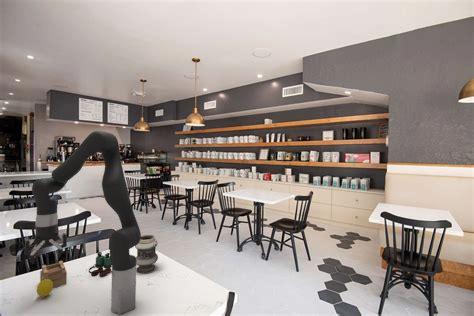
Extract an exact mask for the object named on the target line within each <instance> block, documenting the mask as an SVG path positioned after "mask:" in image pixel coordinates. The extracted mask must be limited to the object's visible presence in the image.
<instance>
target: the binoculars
mask: <svg viewBox="0 0 474 316" xmlns="http://www.w3.org/2000/svg"><path fill="white" fill-rule="evenodd" d="M102 254H103V253H102V252H101V251H97V256H96V257H95V264H93V266H90V267H89V268H88V273H89V274H91V275H90V276H91V277H97V276H99V277H100V278H103V277H105V276H107V274H108V273H110V272H112V264H111V261H110V252H106V253H105V254H104V255H102ZM93 269H94V270H93ZM91 270H93V271H91Z"/></svg>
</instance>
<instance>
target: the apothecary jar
mask: <svg viewBox="0 0 474 316" xmlns="http://www.w3.org/2000/svg"><path fill="white" fill-rule="evenodd" d="M158 243H159V242H158V240H157V239H156V236H155V235H154V234H143V235H141V240H140V242H139V243H138V244H137V245H136V246H134V247H135V249H136V252H137V253H136V256H135V257H136V266H138V267H136V273H139V274H149V273H152V272H153V271H155V270H156V268H157V267H156V265H155V264H156V262H157V261H158V259H159V256H158V254H157V253H156V252H157V251H156V247H157V246H158Z"/></svg>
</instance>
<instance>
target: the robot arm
mask: <svg viewBox="0 0 474 316" xmlns="http://www.w3.org/2000/svg"><path fill="white" fill-rule="evenodd" d="M119 145H120V144H119V141H118V138H117V136H116V135H114V133H111V132H106V131H102V130H95V131H93V132H91V133H89V135H87V136H86V137H85V139H84V140H83V141H82V142H81V143H80V145H79V146H78V147H77V148H76V149H75V150H74V152H72V154H71V155H70V156H69V157H68V158H67V159H66V160H64V161H63V162H62V163H61V164H59V165H58V166H56V167H55V168H54V169H53V170H52V172H51V173H50V174H51V177H46V178H39V179H36V180H35V181H34V182H33V183H32V187H31V192H32V195H33V198H34V201H35V204H36V216H35V224H34V225H35V230H34V231H35V237H34V238H32V239H29V238H27V239H25V243H24V251H23V253H24V255H25V256H29V263H30V264H32V265H34V264H35V261H36V258H35V257H36V253H37V251H39V250H40V249H41V248H42V249H43V248H46V247H48V248H49V247H52V246H54V247H56V249H57V251H56V257H57V259H60V257H62V255H63V254H62V252H63V251H62V250H63V249H64V248H66V247H67V246H68V244H67V243H68V239H67V234H66V232H62V233H60V234H58V233H59V231H58V230H59V229H58V228H59V227H58V223H59V222H58V220H59V216H58V200H56V199H55V198H51V197H50V195H51V194H56V193H58V192H60V191H61V190H62V189H63V188H64V187H65V186H66V184H67V183H68V182H69V181H70V180H71V179H72V178H74V177H75V176H76V175H77V174H78V173H79V172H81V170H82V168H83V167H84V164H85V162H86V161H87V160H88V159H89V158H90V157H92V156H94V155H96V154H97V153H98V154H102V158H103V161H104V172H103V175H102V180H101V188H102V193H103V196H104V199H105V202H106V203H107V205H108V206H109V207H110V208H111V209H112V210H113V211H114V212H115V214H117V216H118V218H119V220H120V225H121V228H120V229H117V230H115V231H113V232H112V233H111V235H110V238H109V253H110V255H109V256H110V261H111V264H112V267H111V291H110V294H111V295H110V296H111V298H110V301H111V302H110V310H111V312H112V313H113V314H118V315H119V316H121V315H122V314H125V313H127V312H129V311H132V310H134V309H136V301H137V300H136V297H137V296H136V295H137V294H136V293H137V291H136V289H137V286H136V285H137V264H136V256H135V255H132V254H130V249H132V248H134V247H135V246H136V245H137V244H138V243H139V242H140V240H141V236H142V234H141V229H140V226H139V223H138V221H137V218H136V216H135V213H134V209H133V205H132V202H131V198H130V193H129V189H128V185H127V181H126V177H125V174H124V168H123V165H122V160H121V153H120V146H119ZM59 238H60V240H62V244H61V243H59V242H58V241H57V240H58V239H59ZM33 243H35V245H34V247H33V248H32V249H31V250H29V249H30V246H31V245H32V244H33Z"/></svg>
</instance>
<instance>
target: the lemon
mask: <svg viewBox="0 0 474 316" xmlns="http://www.w3.org/2000/svg"><path fill="white" fill-rule="evenodd" d="M53 289H54V288H53V282H52V281H51V280H50V279H44V280H42V281H41V282H40V281H39V283H37V285H36V293H37V295H38V296H39V297H42V298H46V297H47V296H48V295H50V294H51V293H52V291H53Z"/></svg>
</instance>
